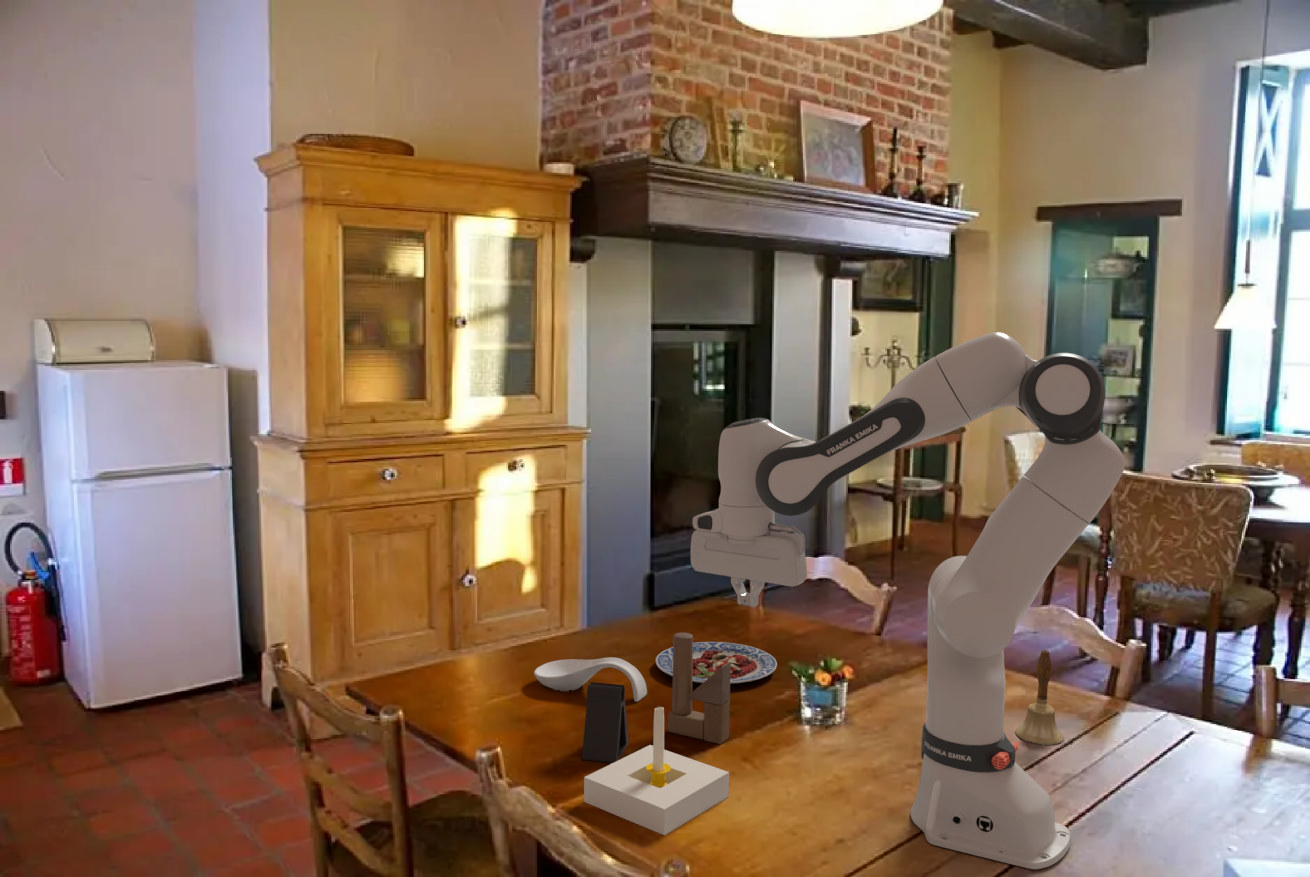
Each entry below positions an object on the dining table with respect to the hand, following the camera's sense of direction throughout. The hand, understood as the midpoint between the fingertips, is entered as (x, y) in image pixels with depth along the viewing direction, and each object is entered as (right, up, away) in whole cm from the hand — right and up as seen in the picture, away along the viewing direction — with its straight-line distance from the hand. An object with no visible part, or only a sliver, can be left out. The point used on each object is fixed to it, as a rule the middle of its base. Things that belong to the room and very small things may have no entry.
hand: (748, 605), depth 165 cm
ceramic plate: (-2, -23, +54) cm, 59 cm away
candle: (-14, -30, -5) cm, 33 cm away
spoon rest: (-28, -24, +42) cm, 56 cm away
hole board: (-15, -30, -5) cm, 33 cm away
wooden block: (-7, -27, +20) cm, 34 cm away
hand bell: (+55, -27, +21) cm, 65 cm away
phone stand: (-23, -28, +13) cm, 38 cm away
